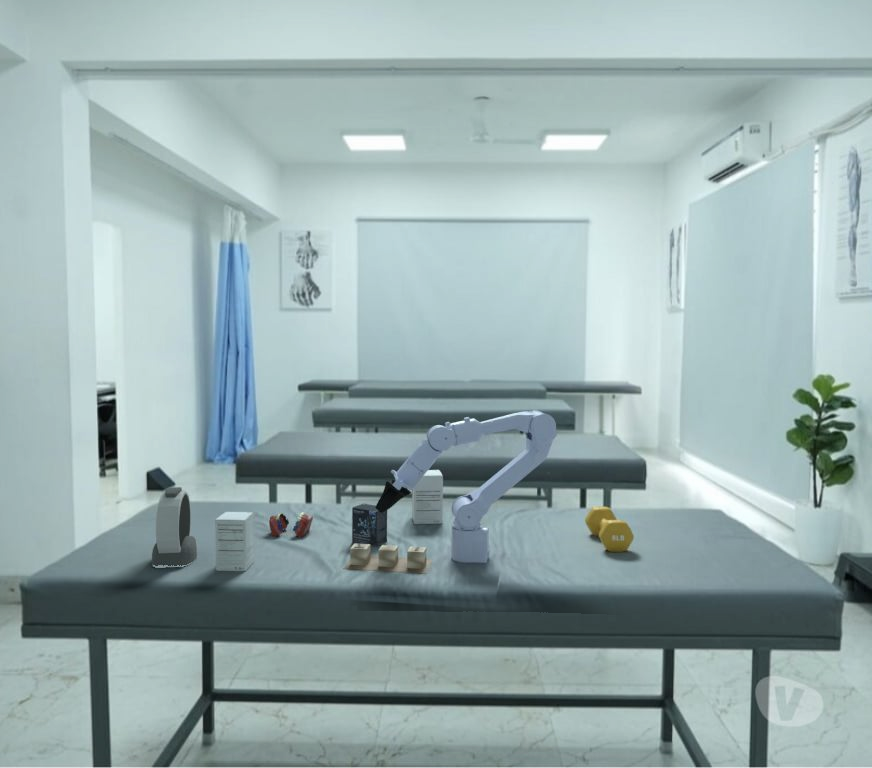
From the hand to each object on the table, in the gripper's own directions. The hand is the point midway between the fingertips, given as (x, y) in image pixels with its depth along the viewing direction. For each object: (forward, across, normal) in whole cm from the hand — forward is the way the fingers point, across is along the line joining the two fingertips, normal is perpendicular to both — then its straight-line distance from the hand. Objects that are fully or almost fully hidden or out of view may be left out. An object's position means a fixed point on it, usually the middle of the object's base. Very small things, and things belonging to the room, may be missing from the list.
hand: (381, 509), depth 166 cm
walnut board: (+10, +1, +10) cm, 14 cm away
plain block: (+9, +1, +10) cm, 13 cm away
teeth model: (+27, -25, -18) cm, 41 cm away
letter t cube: (+13, +1, +4) cm, 14 cm away
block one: (+4, +1, +15) cm, 16 cm away
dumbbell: (-29, -27, +52) cm, 65 cm away
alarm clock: (+43, +1, -32) cm, 54 cm away
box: (+13, -16, +3) cm, 21 cm away
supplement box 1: (+33, +4, -18) cm, 38 cm away
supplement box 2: (+2, -44, +10) cm, 45 cm away
